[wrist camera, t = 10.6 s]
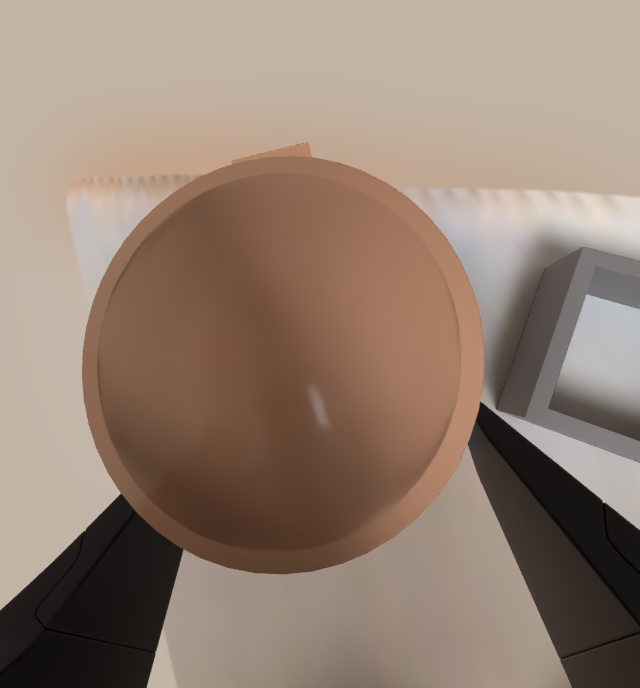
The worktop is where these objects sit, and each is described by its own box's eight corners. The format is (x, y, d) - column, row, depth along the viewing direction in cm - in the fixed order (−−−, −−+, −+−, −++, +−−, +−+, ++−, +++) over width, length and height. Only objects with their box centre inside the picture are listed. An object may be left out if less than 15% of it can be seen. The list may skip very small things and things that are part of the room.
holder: (671, 474, 15) (747, 499, 12) (496, 409, 17) (524, 417, 14) (721, 317, 15) (806, 303, 12) (544, 268, 17) (582, 246, 14)
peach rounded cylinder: (400, 415, 16) (529, 567, 4) (291, 426, 17) (86, 579, 5) (378, 276, 17) (420, 10, 5) (276, 293, 18) (75, 112, 6)
